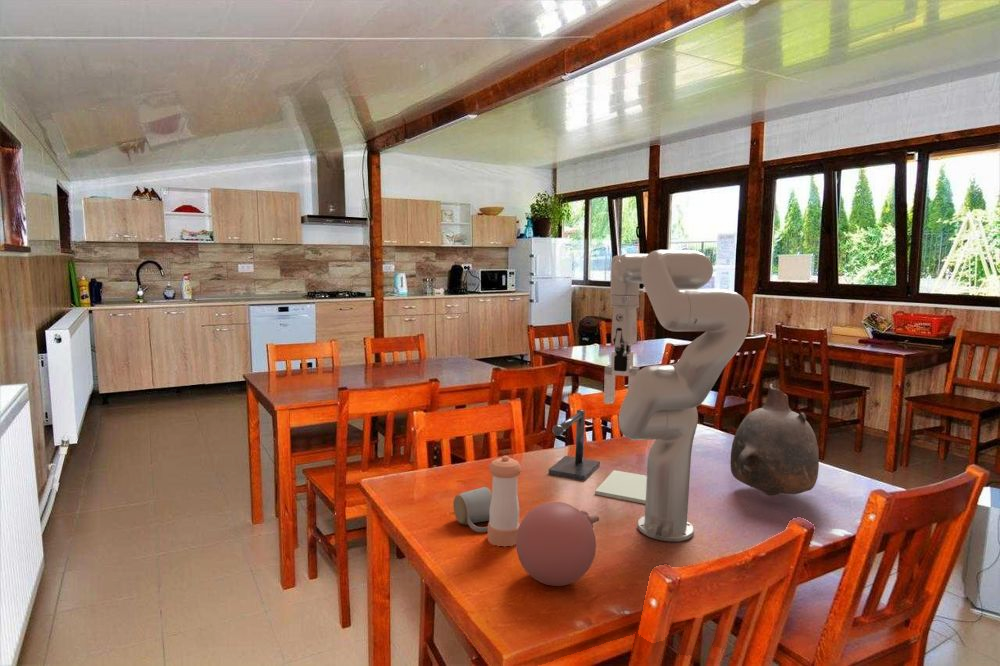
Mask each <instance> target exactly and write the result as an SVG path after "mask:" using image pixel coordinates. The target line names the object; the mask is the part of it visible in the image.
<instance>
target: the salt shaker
mask: <svg viewBox="0 0 1000 666" xmlns="http://www.w3.org/2000/svg"><path fill="white" fill-rule="evenodd" d="M488 470H489V473H490V475H492V485H491V486H492V489H491V490H492V492H491V493H492V498H491V504H490V509H489V514H490V520H489V521H488V524H487V527H488V531H487V541H489V542H488V543H489V544H490V545H492V544H493V546H495V545H497V546H496V547H499V546H510V547H513V546H512V545H514V546H516V545H515V544H516V536H517V532H518V528H519V526H520V524H521V522H520V503H519V497H518V476H519V475H520V474H521V471H522V466H521V464H520V463H519V461H518V460H516V459H515V458H514V459H513V458H511V457H509V456H508V455H503V456H502V457H498V458H495V459H493V460H492V461H491V462H490V464H489V469H488Z"/></svg>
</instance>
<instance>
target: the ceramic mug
mask: <svg viewBox="0 0 1000 666" xmlns="http://www.w3.org/2000/svg"><path fill="white" fill-rule="evenodd" d="M491 498H492V492H491V490H490V489H489V488H488V487H486V486H482V487H479V488H476V489H472V490H469V491H465V492H461V493H459V494H457V495H456V496H455V497H454V499H453V513H454V515H455V518H456V520H457V522H458V523H459V524H461V525H468V526H469V527H470V529H472V530H473V531H474V532H477V533H486V532H487V533H488V526H484V527H483V526H477V525H475V524H476V523H482V522H489V521H490V514H489V509H490V504H491Z"/></svg>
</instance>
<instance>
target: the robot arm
mask: <svg viewBox="0 0 1000 666" xmlns="http://www.w3.org/2000/svg"><path fill="white" fill-rule="evenodd" d="M610 264H611V265H610V266H611V267H610V295H609V296H610V297H609V301H610V303H609V308H613V309H612V320H611V343H612V344H613V345H614V351H615V356H614V370H615V371H624V372H625V371H626V366H627V356H626V352H632V350H631V349H632V348H631V347H632V345H633V344H635V343H636V342H637V341H638V336H637V335H638V329H637V328H638V327H637V324H638V323H637V321H638V319H637V318H638V317H637V316H638V315H637V309H638V308H640V307H639V306H640V285H641V284H642V285H643V287H644V290H645V291H646V295H647V296H648V299H649V302H650V304H651V306H652V309H653V312H654V313H655V317H656V318H657V321H658V322H659V324H660V325H661V326H662V327H663V328H664V329H665V330H668V331H669V332H670V331H671V332H704V333H702V334H701V335H700V336H698V337H696V338H695V339H694V340H692V341H691V342H690V343H689V344H688V345H687V346H686V347H685V349H684V350H683V351H682V352H681V353H682V354H681V356H680V358H679V359H678V360H677V362H676V363H672V364H657V365H654V364H653V365H648V366H644V367H643V368H641V369H639V371H638V372H637V373H636V375H635V377H634V379H633V381H632V383H631V385H630V387H629V390H628V389H627V391H626V392H627V393H626V395H625V397H624V398H623V401H622V403H621V406H620V408H619V412H618V426H619V430H620V432H621V434H622V435H624V437H625V438H627V439H629V440H632V441H651V440H652V441H653V440H654V441H653V443H652V444H651V446H650V447H649V451H648V454H647V461H646V462H647V465H646V476H647V480H646V501H645V504H644V516H641V517H640V518H639V519H638V520H637V529H638V531H640V532H641V534H643V535H645V536H646V537H649V538H652V539H654V540H658V541H663V542H673V543H675V542H682V541H687V540H689V539H690V538H693V535H694V530H695V529H694V526H693V525H692V523H690V522H689V521H688V514H689V513H688V512H689V497H690V496H689V495H690V494H689V492H690V478H691V477H690V476H691V464H692V463H691V462H692V449H693V443H694V439H695V435H696V432H697V431H696V430H697V427H698V422H699V413H698V409H697V407H698V406H700V405H702V404H703V403H704V401H705V400H706V399H707V398H708V396H709V394H710V392H711V391H712V388H713V387H714V386H715V384H716V382H717V380H718V379H719V377H720V375H721V374H722V372H723V370H724V369H725V367H726V366H727V364H728V363H729V362H730V360H732V358H733V357H734V356H735V355H736V354H737V352H738V351H739V350H740V349H741V347H742V345H743V344H744V342H745V339H746V338H747V334H748V332H749V331H748V330H749V327H750V317H751V316H750V308H749V304H748V302H747V300H746V298H744V297H743V295H741V294H739V293H738V292H736V291H732V290H728V289H722V288H702V287H705V285H707V284H708V283H709V282H710V281H711V279H712V277H713V274H714V266H713V263H712V261H711V260H710V258H709V257H708V256H707V255H706V254H704V253H702V252H700V251H697V250H691V249H685V250H683V249H681V250H680V249H656V250H652V251H650V252H649V253H624V254H619V255H614V256H613V257H612V259H611V263H610Z"/></svg>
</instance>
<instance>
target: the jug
mask: <svg viewBox="0 0 1000 666" xmlns="http://www.w3.org/2000/svg"><path fill="white" fill-rule="evenodd" d="M789 405H790V404H789V397H788V395H787V394H786V393H784V392H783V391H782V390H779V389H778V388H777V387H776V386H775V384H773V383H770V384H769V386H768V392H767V396H766V400H765V403H764V405H763V406H762V407H759V408H755V409H754V410H752V411H750V412H749V413H748V414H746V416H745V417H744V418H743V419H742V421H741V423H740V424H739V426H738V428H737V429H736V432H735V434H734V437H733V440H732V444H731V450H730V462H729V463H730V471H731V474H732V476H733V477H734V478H735V479H736V480H737V481H739V482H741V483H742V484H745V485H747V486H749V487H751V488H753V489H757V490H759V491H761V492H762V493H764V494H765V495H767V496H770V497H772V496H777V495H798V494H803V493H806V492H808V491H811V490H812V489H813V488H814V487H815V485H816V483H817V480H818V476H819V468H820V467H819V466H820V465H819V464H820V459H819V458H820V456H819V454H820V452H819V445H818V441H817V437H816V434H815V432H814V429H813V428H812V426H811V425H810V423H809V421H807V416H806V414H805V413H804V412H800V413H797V412H796V411H793V410H792V409H791V408H790V406H789Z"/></svg>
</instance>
